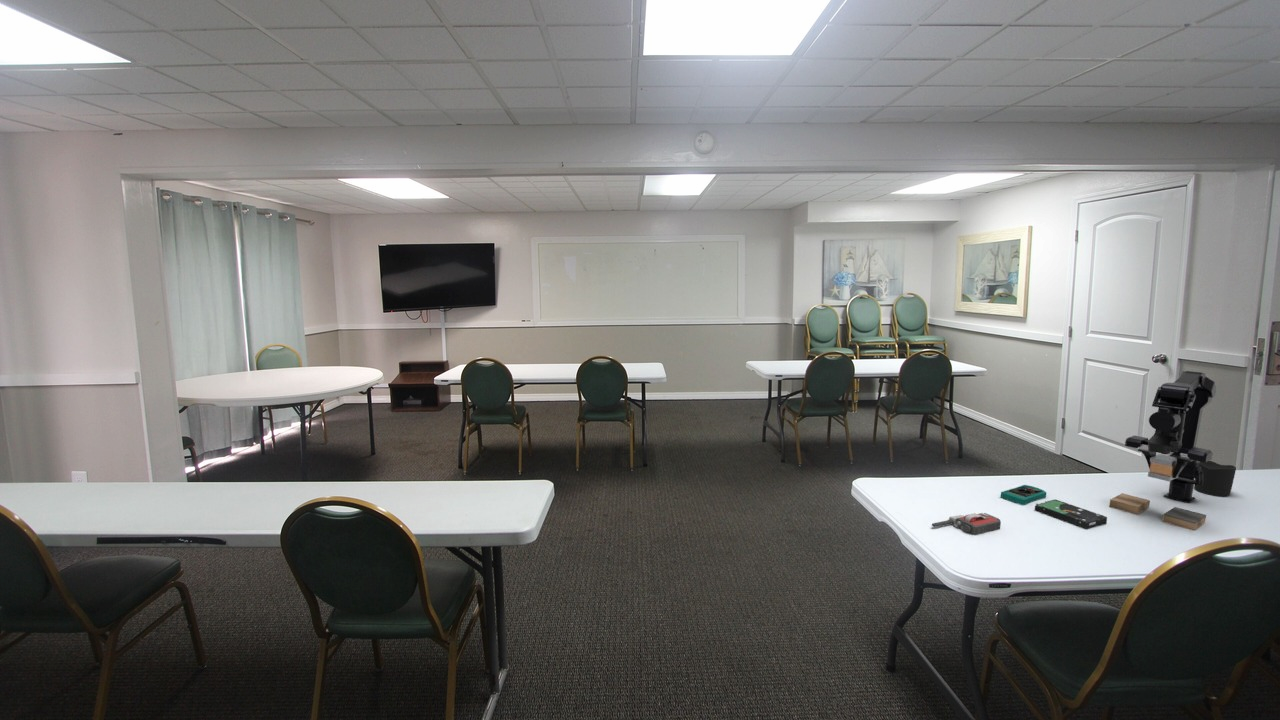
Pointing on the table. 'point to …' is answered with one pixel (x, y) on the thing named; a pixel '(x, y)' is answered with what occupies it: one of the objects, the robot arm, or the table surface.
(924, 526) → the table surface
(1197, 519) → the stand
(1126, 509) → the stand
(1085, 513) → the disk drive
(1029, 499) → the digital multimeter
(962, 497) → the table surface
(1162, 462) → the block
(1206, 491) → the pen holder
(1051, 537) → the table surface
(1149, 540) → the table surface
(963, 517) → the walkie-talkie
